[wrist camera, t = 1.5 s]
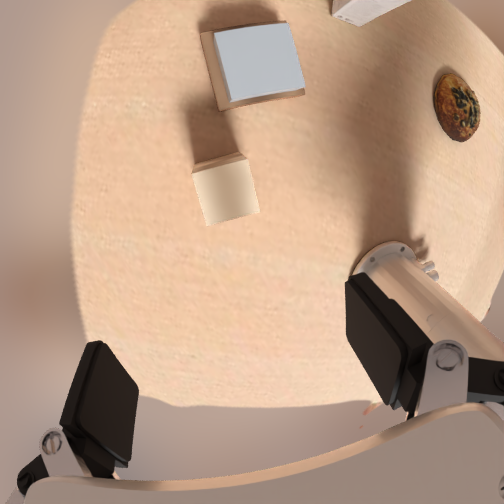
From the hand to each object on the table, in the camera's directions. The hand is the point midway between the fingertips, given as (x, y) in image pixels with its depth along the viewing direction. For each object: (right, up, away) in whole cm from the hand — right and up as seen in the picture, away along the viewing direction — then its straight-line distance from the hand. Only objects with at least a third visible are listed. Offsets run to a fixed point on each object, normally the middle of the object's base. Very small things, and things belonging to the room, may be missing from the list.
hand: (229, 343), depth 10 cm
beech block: (-2, +11, +21) cm, 24 cm away
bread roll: (+32, +26, +20) cm, 46 cm away
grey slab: (+1, +22, +13) cm, 26 cm away
